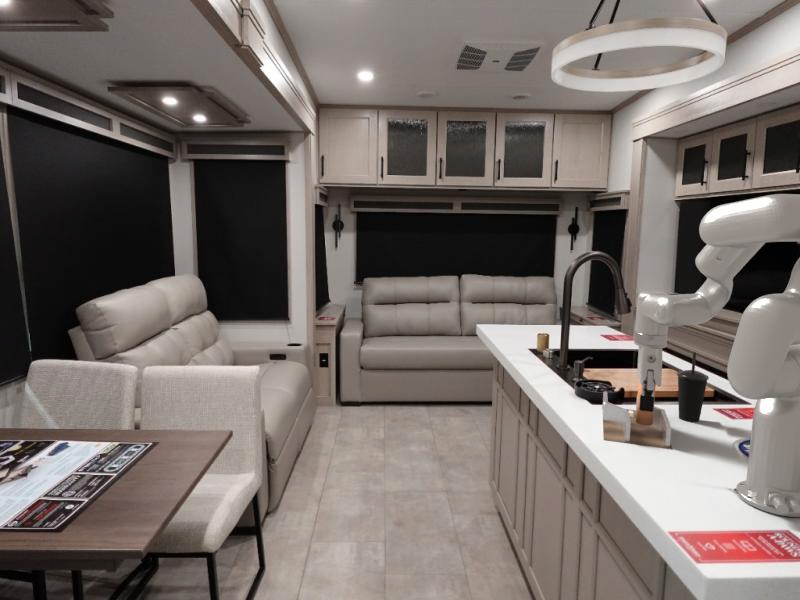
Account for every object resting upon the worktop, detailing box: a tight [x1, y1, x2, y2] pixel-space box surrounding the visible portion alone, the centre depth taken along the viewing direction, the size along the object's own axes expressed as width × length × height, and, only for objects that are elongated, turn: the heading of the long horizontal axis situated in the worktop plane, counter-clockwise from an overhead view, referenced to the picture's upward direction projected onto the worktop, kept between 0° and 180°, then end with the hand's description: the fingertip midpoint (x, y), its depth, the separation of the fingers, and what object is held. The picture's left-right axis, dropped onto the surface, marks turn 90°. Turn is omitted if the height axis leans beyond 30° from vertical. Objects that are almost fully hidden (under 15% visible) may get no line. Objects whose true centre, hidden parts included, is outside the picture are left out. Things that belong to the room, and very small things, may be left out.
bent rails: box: [602, 390, 672, 448], centre depth 139 cm, size 24×15×5 cm, turn 159°
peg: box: [636, 380, 657, 426], centre depth 135 cm, size 4×4×12 cm
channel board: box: [601, 405, 673, 450], centre depth 139 cm, size 26×16×1 cm, turn 159°
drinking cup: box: [676, 352, 710, 423], centre depth 143 cm, size 8×8×20 cm
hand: (645, 407), depth 135 cm, fingers closed on peg, 4 cm apart
